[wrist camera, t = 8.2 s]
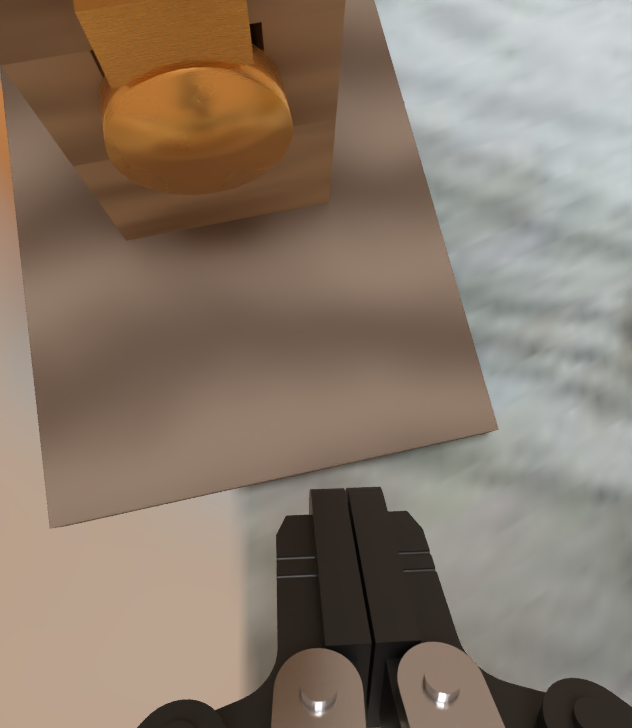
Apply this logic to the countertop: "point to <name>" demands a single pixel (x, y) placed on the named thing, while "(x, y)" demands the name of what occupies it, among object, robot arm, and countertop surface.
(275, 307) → the hitch post
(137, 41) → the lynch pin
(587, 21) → the countertop surface
